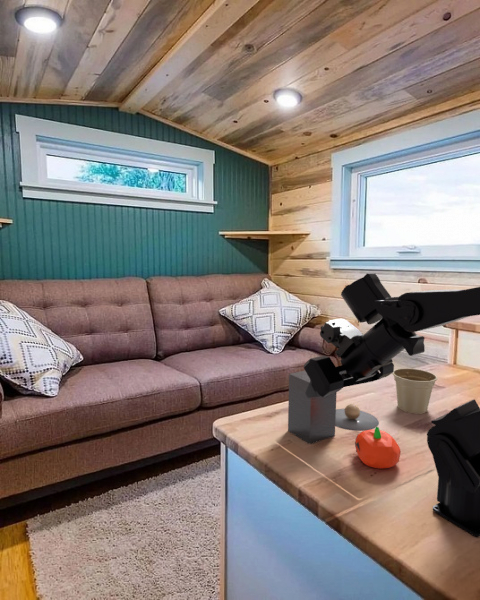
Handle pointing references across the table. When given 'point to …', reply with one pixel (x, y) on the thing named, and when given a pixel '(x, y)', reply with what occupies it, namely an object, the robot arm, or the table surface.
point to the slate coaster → (356, 421)
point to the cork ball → (352, 411)
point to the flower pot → (413, 389)
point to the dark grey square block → (309, 411)
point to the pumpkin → (377, 449)
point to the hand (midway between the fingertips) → (324, 390)
